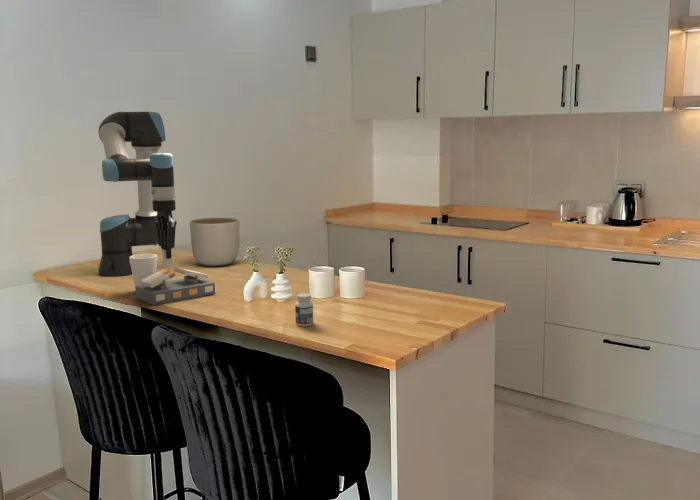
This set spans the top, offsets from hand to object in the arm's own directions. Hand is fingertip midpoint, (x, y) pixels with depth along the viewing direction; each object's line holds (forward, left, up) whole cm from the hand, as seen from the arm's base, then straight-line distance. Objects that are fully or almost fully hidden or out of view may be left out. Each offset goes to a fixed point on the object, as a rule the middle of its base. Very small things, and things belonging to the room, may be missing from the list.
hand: (167, 267), depth 225 cm
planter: (-41, +42, -11) cm, 60 cm away
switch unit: (0, +3, -10) cm, 11 cm away
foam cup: (-13, -3, -11) cm, 17 cm away
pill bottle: (+58, +15, -11) cm, 61 cm away
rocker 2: (0, +9, -4) cm, 9 cm away
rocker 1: (0, -3, -4) cm, 5 cm away
